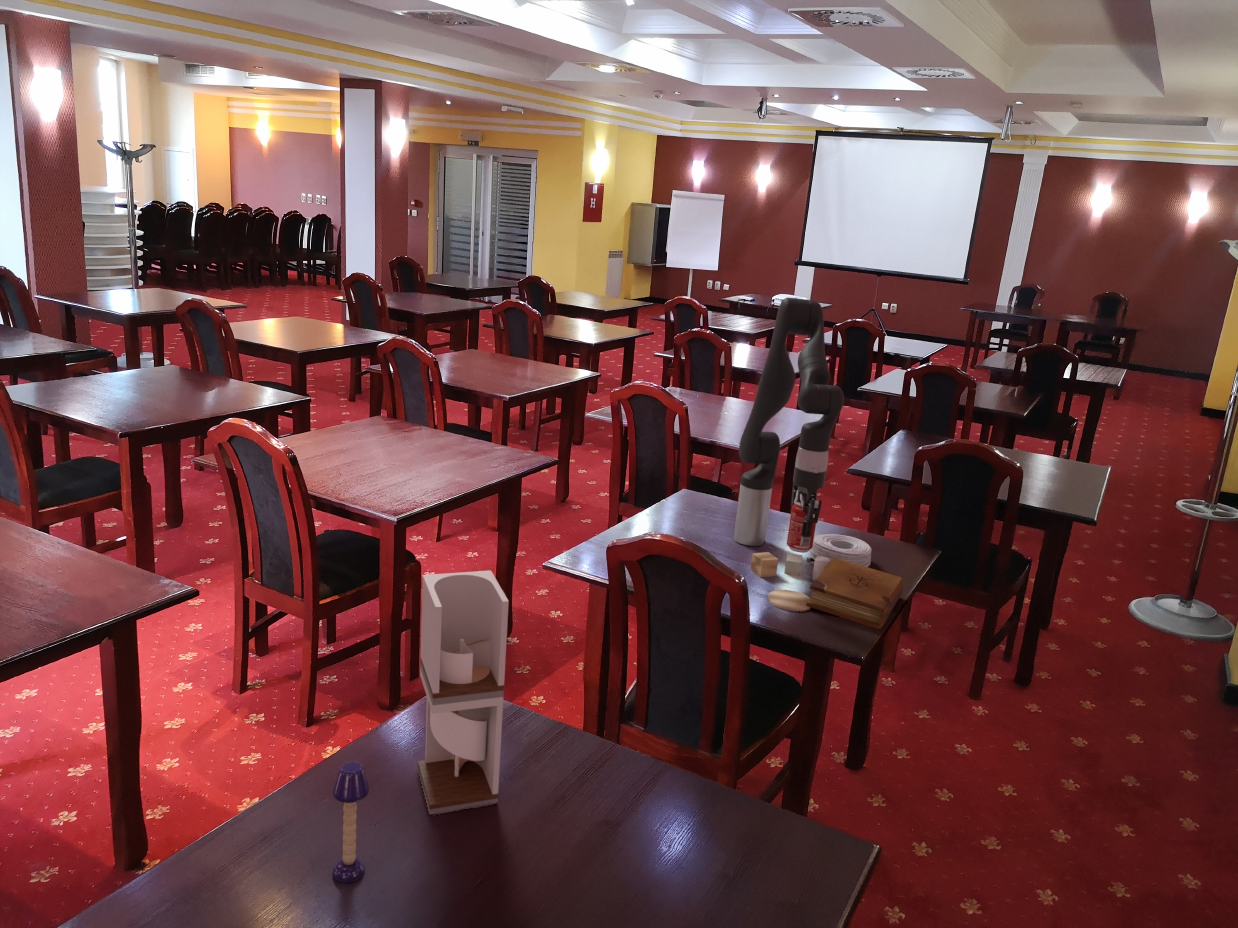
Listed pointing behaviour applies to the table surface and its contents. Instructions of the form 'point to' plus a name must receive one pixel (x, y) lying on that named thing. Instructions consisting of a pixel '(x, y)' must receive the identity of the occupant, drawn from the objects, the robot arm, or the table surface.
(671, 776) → the table surface
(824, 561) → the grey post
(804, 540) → the beverage can
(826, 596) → the diary
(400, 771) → the table surface
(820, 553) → the cable
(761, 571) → the oak block
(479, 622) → the display case
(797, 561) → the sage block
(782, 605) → the coaster
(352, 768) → the toy lamp
